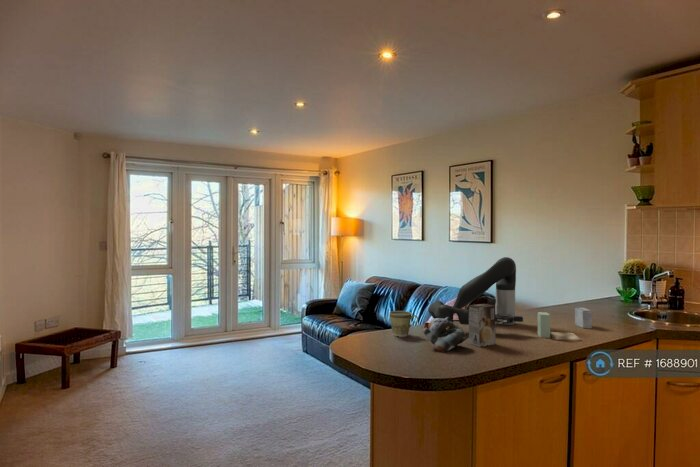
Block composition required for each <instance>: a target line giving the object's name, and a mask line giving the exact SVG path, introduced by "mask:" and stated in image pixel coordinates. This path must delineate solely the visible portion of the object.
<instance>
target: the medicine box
mask: <svg viewBox="0 0 700 467" xmlns="http://www.w3.org/2000/svg"><path fill="white" fill-rule="evenodd" d="M592 315H593V312H592V310H591V309H589V308H586V307H575V308H574V325H575V326H577V327H579V328H581V329H592V328H593V326H592V325H593V316H592Z"/></svg>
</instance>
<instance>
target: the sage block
mask: <svg viewBox="0 0 700 467" xmlns="http://www.w3.org/2000/svg"><path fill="white" fill-rule="evenodd" d="M550 332H551V314H550V313H548V312H546V311H545V312H540V311H538V312H537V335H538V337H539V338H542V337H544V339H545V338H546V339H550V338H551V337H550Z"/></svg>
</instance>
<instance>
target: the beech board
mask: <svg viewBox="0 0 700 467" xmlns="http://www.w3.org/2000/svg"><path fill="white" fill-rule="evenodd" d="M550 338H551V339H552V340H553V339H554V340H556V341H557V340H558V341H573V342H574V341H575V342H576V341H577V342H578V341H579V342H581V341H582V339H581V338H580V337H579V336H577V335H576V334H575V333H573V332H560V331H558V332H557V331H550Z"/></svg>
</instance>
